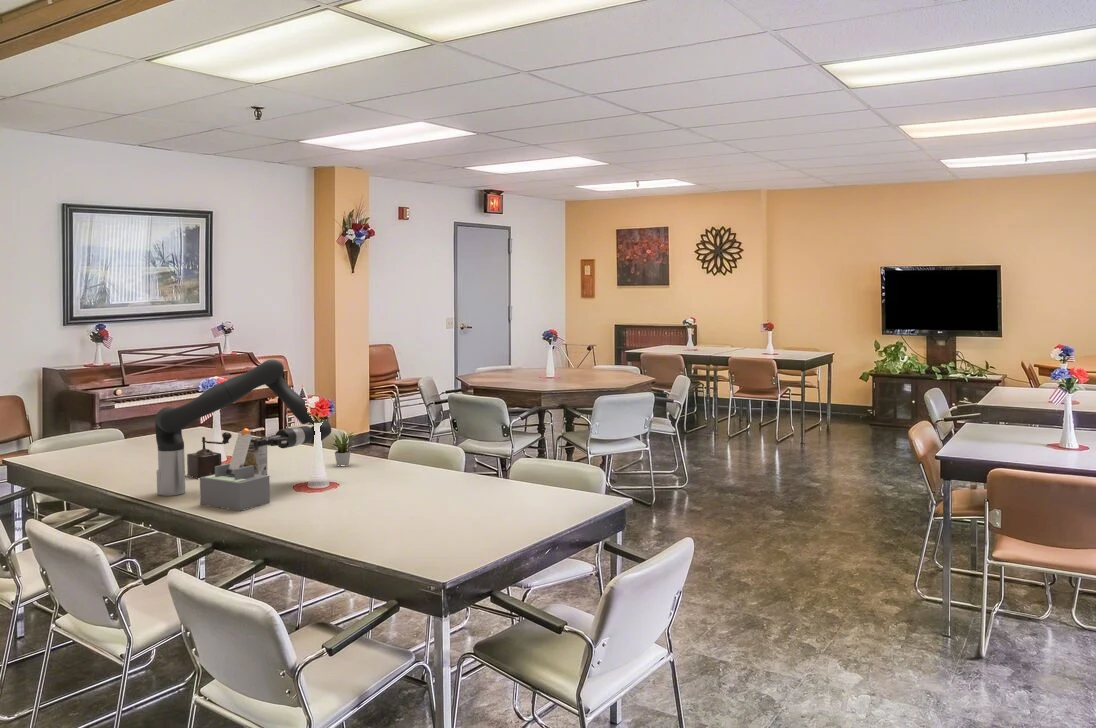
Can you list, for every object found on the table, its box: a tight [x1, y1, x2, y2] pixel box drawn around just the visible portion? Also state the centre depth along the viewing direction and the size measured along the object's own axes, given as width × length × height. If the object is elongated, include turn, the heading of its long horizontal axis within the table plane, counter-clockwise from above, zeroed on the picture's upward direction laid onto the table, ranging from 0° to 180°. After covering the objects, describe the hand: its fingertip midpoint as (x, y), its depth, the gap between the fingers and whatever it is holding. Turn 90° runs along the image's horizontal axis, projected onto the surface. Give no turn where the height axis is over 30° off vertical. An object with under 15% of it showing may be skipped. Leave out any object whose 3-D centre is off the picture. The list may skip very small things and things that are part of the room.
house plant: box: [329, 431, 358, 467], centre depth 367 cm, size 14×14×16 cm
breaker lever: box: [226, 427, 253, 476], centre depth 299 cm, size 3×6×18 cm, turn 64°
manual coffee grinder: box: [186, 431, 232, 479], centre depth 346 cm, size 16×11×18 cm
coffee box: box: [243, 436, 269, 476], centre depth 345 cm, size 9×6×16 cm
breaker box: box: [199, 462, 271, 511], centre depth 297 cm, size 14×20×14 cm
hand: (256, 443), depth 306 cm, fingers closed
